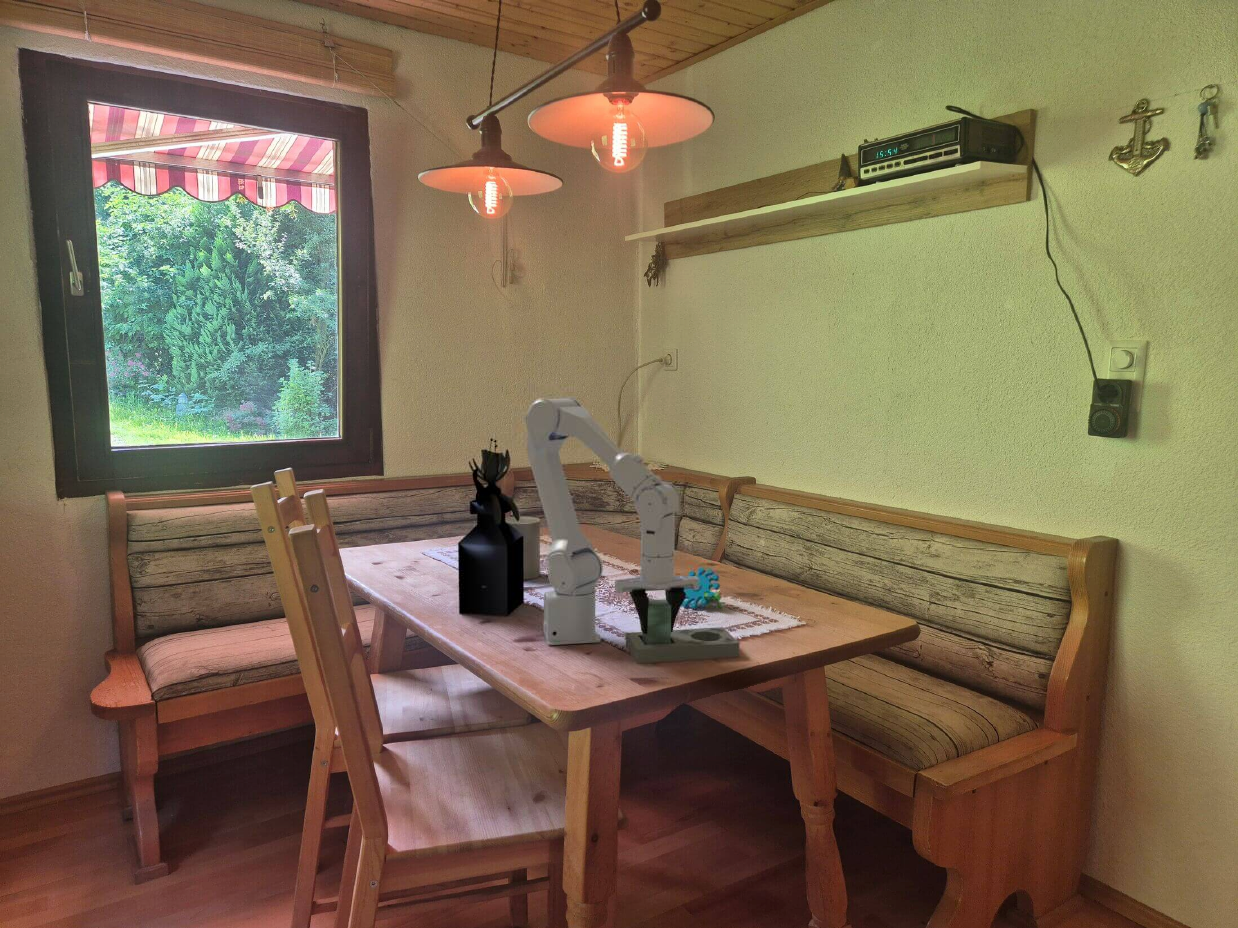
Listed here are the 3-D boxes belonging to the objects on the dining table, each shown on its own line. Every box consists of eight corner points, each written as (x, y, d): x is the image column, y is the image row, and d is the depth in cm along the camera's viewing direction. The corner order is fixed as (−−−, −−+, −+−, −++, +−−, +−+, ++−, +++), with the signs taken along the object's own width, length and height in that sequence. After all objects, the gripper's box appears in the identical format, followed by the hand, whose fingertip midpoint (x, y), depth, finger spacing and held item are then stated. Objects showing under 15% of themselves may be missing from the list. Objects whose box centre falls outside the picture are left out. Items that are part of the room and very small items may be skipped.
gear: (665, 595, 175) (694, 559, 178) (679, 610, 179) (707, 575, 181) (700, 614, 167) (729, 576, 169) (713, 630, 170) (742, 592, 173)
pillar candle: (493, 574, 200) (492, 513, 198) (529, 569, 205) (529, 509, 203) (510, 582, 192) (510, 519, 190) (547, 577, 197) (547, 515, 195)
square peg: (647, 646, 141) (648, 606, 140) (642, 639, 145) (642, 600, 144) (670, 645, 142) (671, 605, 141) (664, 637, 146) (665, 599, 145)
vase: (508, 621, 161) (507, 443, 158) (453, 617, 164) (450, 441, 160) (530, 602, 175) (530, 437, 172) (479, 598, 178) (477, 436, 174)
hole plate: (636, 663, 138) (637, 649, 138) (625, 646, 147) (625, 632, 147) (739, 656, 142) (739, 642, 142) (722, 640, 151) (722, 627, 150)
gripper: (620, 560, 136) (620, 640, 138) (705, 557, 139) (703, 635, 141) (612, 551, 143) (612, 628, 145) (693, 548, 146) (691, 623, 148)
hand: (656, 631), depth 143 cm, fingers closed on square peg, 4 cm apart
